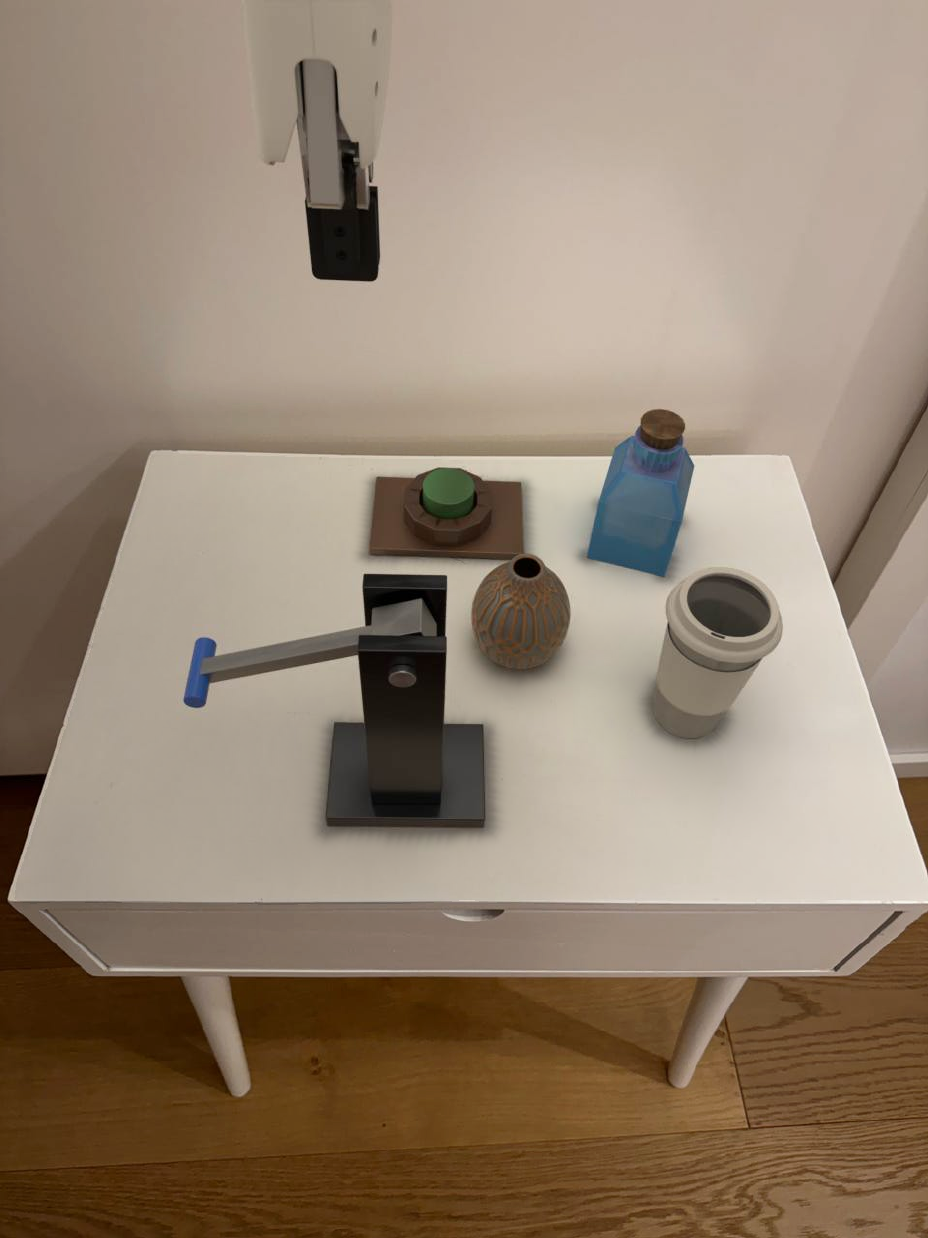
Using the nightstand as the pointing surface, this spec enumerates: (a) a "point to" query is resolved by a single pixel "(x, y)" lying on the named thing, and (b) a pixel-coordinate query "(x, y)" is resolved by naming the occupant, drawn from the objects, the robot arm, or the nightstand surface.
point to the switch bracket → (405, 727)
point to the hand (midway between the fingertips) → (346, 270)
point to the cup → (712, 647)
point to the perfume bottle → (644, 496)
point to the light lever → (300, 649)
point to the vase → (521, 613)
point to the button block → (447, 521)
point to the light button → (448, 493)
